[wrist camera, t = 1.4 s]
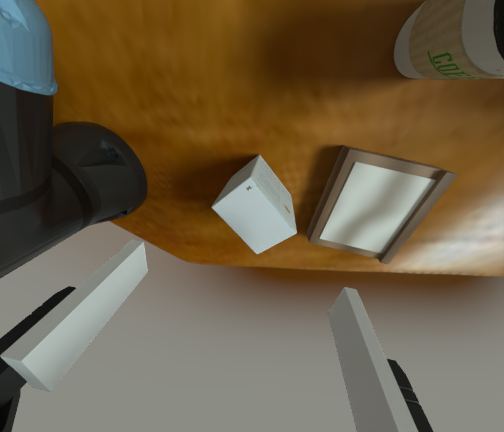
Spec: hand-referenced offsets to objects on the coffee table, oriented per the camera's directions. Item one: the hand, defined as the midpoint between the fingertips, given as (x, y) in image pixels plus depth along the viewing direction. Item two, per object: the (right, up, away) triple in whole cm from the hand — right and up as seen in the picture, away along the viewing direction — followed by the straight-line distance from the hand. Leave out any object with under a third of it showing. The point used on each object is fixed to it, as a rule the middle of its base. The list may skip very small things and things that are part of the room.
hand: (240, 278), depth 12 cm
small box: (+2, +9, +16) cm, 19 cm away
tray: (+17, +6, +15) cm, 24 cm away
